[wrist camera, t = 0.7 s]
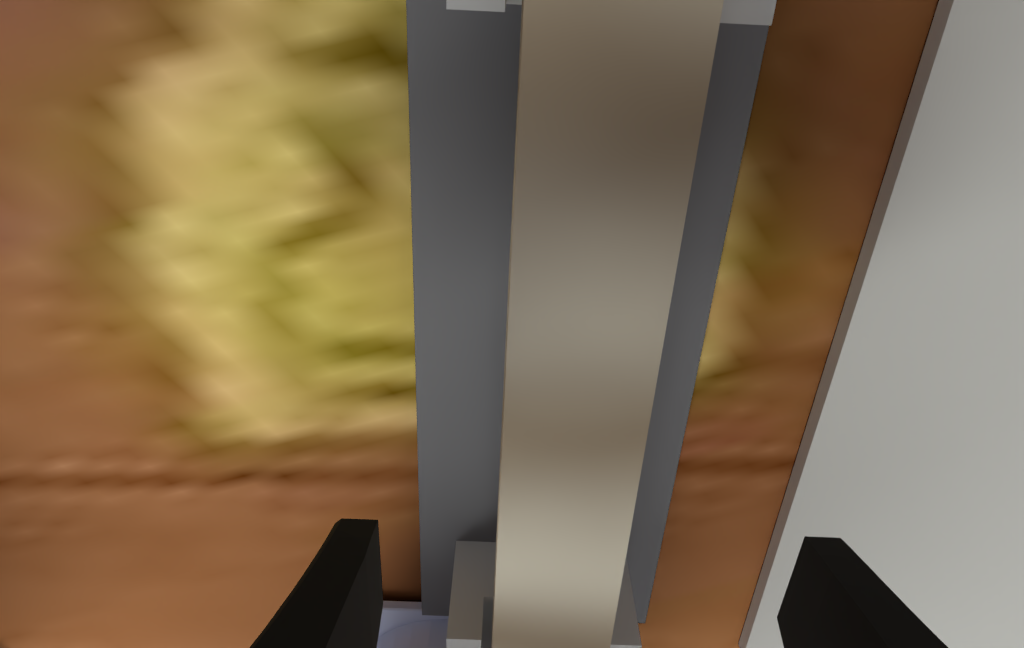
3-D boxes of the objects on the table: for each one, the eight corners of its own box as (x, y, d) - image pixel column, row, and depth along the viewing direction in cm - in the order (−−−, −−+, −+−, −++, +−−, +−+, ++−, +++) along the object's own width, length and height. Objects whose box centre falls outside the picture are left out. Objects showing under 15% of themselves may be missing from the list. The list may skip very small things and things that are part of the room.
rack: (641, 604, 26) (663, 724, 22) (424, 596, 26) (407, 716, 22) (802, -199, 14) (910, -247, 10) (406, -220, 14) (363, -277, 10)
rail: (581, 668, 23) (590, 762, 20) (490, 664, 23) (486, 759, 20) (710, -197, 12) (764, -234, 9) (532, -208, 12) (535, -247, 9)
